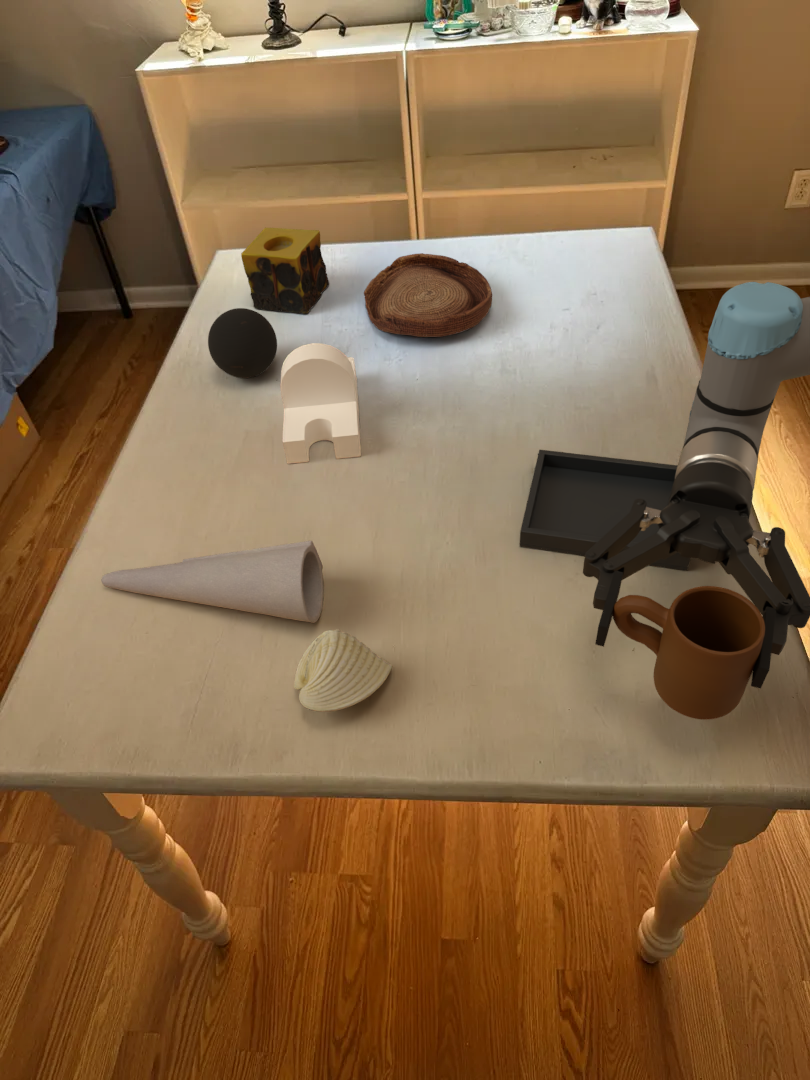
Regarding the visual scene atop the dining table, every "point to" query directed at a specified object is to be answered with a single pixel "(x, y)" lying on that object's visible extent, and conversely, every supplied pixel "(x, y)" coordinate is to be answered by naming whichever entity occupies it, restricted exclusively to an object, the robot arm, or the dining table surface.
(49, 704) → the dining table surface
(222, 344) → the speaker
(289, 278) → the candle
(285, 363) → the block with arch cutout
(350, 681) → the seashell
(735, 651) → the mug
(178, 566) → the planter
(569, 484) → the tray
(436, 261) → the basket
